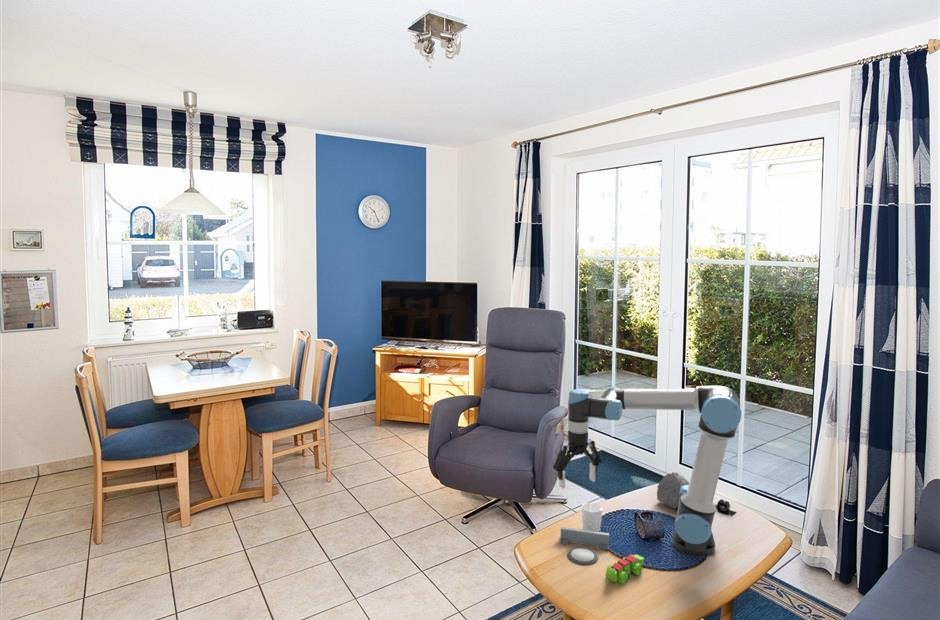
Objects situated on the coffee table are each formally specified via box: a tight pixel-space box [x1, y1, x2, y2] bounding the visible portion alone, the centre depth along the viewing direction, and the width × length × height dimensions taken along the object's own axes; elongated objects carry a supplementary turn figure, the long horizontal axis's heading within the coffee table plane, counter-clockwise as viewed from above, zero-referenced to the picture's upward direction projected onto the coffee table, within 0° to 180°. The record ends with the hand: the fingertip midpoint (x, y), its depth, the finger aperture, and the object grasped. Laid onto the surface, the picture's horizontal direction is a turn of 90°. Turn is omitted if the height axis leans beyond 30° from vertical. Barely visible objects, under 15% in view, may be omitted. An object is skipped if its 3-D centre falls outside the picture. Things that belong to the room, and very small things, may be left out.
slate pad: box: [567, 546, 599, 566], centre depth 206 cm, size 11×11×1 cm
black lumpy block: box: [714, 498, 738, 517], centre depth 240 cm, size 12×7×5 cm, turn 43°
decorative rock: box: [656, 471, 690, 510], centre depth 243 cm, size 16×7×15 cm, turn 37°
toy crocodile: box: [605, 553, 646, 584], centre depth 195 cm, size 20×7×6 cm, turn 127°
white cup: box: [581, 502, 603, 532], centre depth 223 cm, size 8×8×10 cm
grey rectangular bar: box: [559, 526, 610, 551], centre depth 215 cm, size 18×5×5 cm, turn 75°
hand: (577, 483), depth 215 cm, fingers open, 13 cm apart
